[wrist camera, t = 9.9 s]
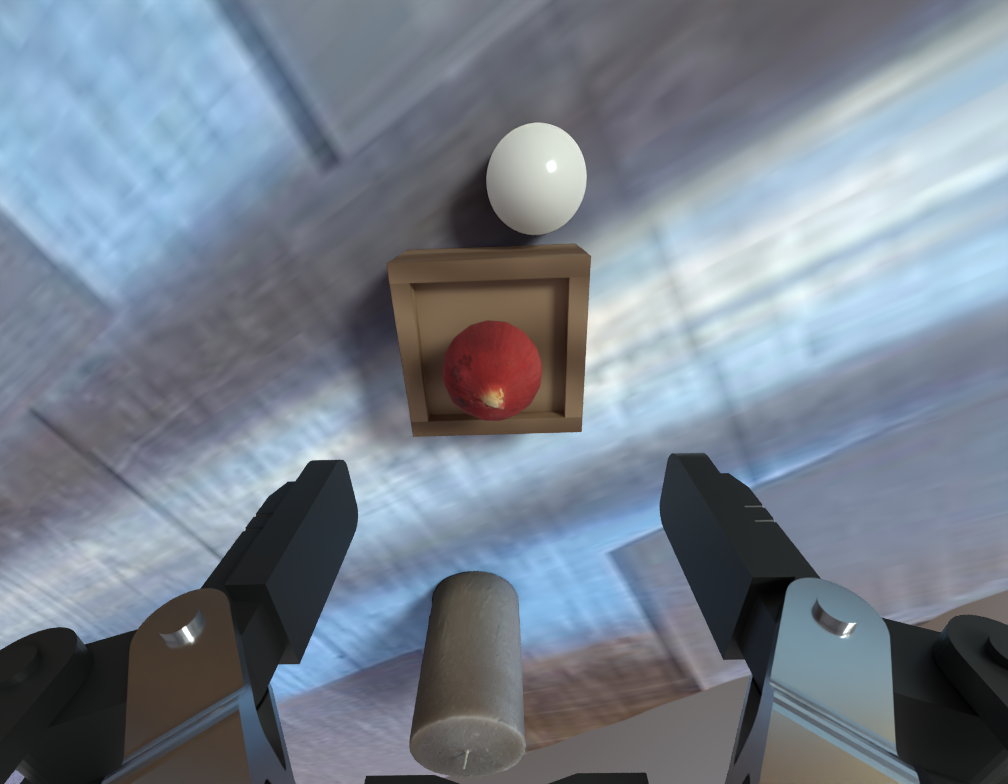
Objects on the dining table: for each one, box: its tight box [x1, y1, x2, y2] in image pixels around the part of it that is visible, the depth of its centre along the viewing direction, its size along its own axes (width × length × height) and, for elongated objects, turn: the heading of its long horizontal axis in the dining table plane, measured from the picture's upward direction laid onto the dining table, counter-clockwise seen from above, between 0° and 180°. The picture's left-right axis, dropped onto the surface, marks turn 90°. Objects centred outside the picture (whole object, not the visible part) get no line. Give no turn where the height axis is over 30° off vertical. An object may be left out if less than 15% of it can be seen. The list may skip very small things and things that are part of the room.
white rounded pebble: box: [486, 123, 586, 235], centre depth 27 cm, size 6×6×4 cm
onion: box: [443, 320, 542, 421], centre depth 24 cm, size 6×6×8 cm
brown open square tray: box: [387, 244, 591, 437], centre depth 30 cm, size 12×12×6 cm
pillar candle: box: [409, 571, 526, 777], centre depth 40 cm, size 10×10×15 cm
